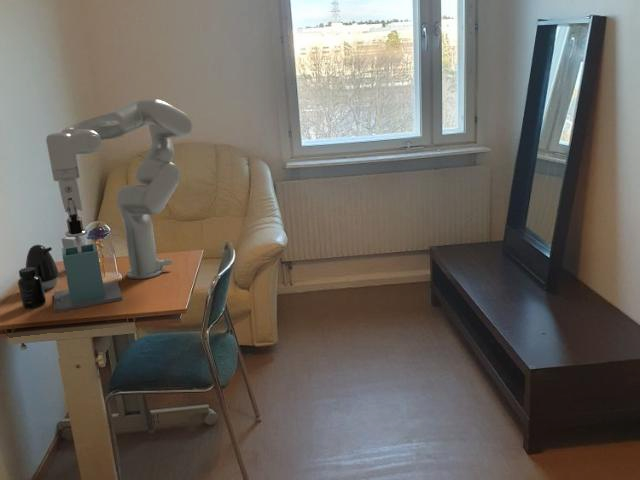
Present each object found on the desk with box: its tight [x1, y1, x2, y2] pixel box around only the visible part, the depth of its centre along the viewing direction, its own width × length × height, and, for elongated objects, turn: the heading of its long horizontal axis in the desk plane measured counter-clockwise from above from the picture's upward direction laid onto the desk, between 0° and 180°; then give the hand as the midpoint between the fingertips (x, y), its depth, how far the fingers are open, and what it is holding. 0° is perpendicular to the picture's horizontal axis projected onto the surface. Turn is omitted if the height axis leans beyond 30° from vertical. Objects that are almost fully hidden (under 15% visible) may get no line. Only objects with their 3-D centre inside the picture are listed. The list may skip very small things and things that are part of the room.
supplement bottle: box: [17, 267, 47, 310], centre depth 203 cm, size 7×7×12 cm
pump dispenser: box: [25, 244, 60, 291], centre depth 218 cm, size 10×10×15 cm
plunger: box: [64, 216, 88, 254], centre depth 204 cm, size 7×7×22 cm
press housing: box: [53, 242, 123, 314], centre depth 206 cm, size 20×17×16 cm
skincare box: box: [61, 236, 84, 248], centre depth 236 cm, size 6×4×12 cm
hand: (76, 231), depth 202 cm, fingers closed on plunger, 4 cm apart
